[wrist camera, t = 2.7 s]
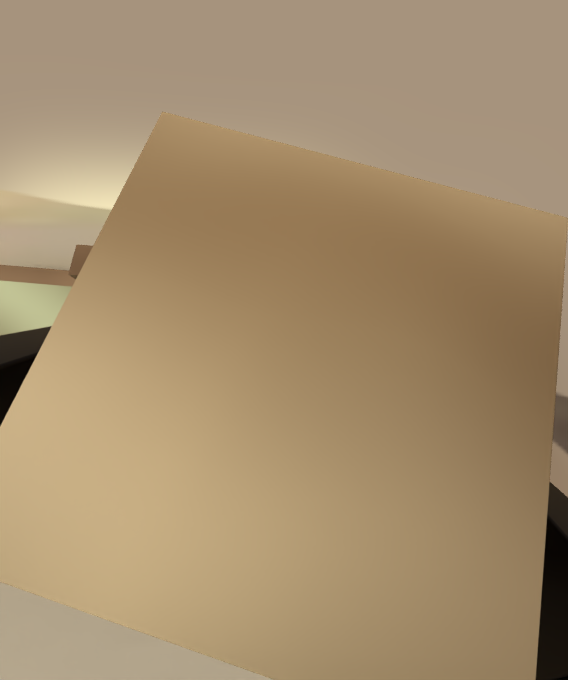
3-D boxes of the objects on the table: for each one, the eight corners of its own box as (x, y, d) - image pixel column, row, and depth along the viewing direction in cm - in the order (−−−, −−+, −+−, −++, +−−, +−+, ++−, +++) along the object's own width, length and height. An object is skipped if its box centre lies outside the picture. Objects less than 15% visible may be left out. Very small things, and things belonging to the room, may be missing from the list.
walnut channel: (463, 527, 16) (560, 589, 10) (-73, 481, 16) (-258, 521, 10) (451, 318, 18) (522, 282, 13) (-4, 280, 18) (-120, 228, 13)
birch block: (316, 463, 14) (527, 768, 2) (219, 432, 14) (-68, 557, 2) (341, 365, 15) (568, 217, 3) (251, 339, 15) (162, 111, 4)
